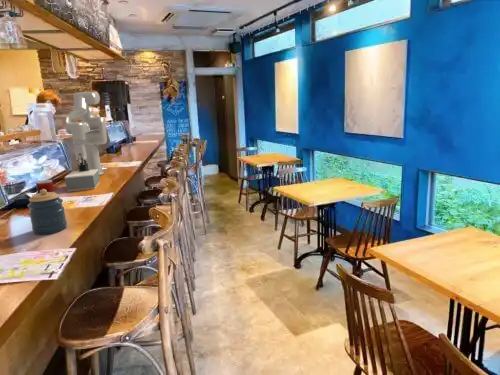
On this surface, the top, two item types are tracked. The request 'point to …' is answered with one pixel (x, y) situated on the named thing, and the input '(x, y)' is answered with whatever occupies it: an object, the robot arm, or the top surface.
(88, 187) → the grey box
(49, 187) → the canned food
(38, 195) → the canister
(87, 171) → the sliding lid
